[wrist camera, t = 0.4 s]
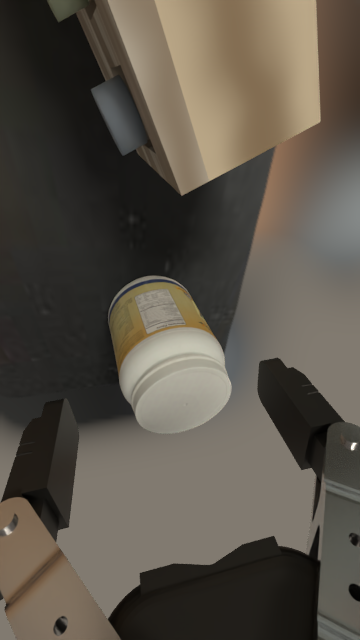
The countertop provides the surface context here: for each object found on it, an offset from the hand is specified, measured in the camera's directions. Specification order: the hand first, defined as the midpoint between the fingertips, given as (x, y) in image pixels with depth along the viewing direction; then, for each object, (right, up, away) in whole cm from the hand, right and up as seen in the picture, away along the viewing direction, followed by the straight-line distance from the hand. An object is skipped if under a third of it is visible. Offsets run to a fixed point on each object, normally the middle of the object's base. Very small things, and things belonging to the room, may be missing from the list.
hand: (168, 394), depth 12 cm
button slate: (-4, +18, +10) cm, 21 cm away
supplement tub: (-4, +5, +30) cm, 31 cm away
